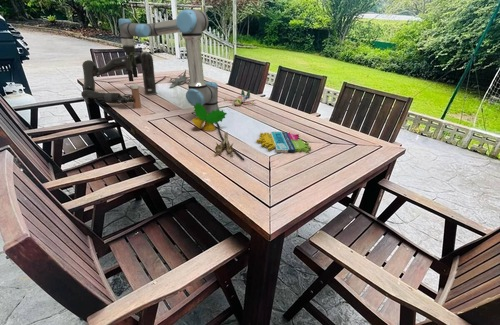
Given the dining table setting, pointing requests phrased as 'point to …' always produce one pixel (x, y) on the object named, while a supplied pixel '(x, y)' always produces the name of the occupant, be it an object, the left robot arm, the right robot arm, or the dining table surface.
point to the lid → (134, 86)
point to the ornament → (207, 117)
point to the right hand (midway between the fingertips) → (133, 79)
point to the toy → (241, 99)
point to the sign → (283, 142)
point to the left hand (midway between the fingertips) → (136, 99)
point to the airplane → (179, 80)
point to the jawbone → (224, 145)
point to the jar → (136, 98)
